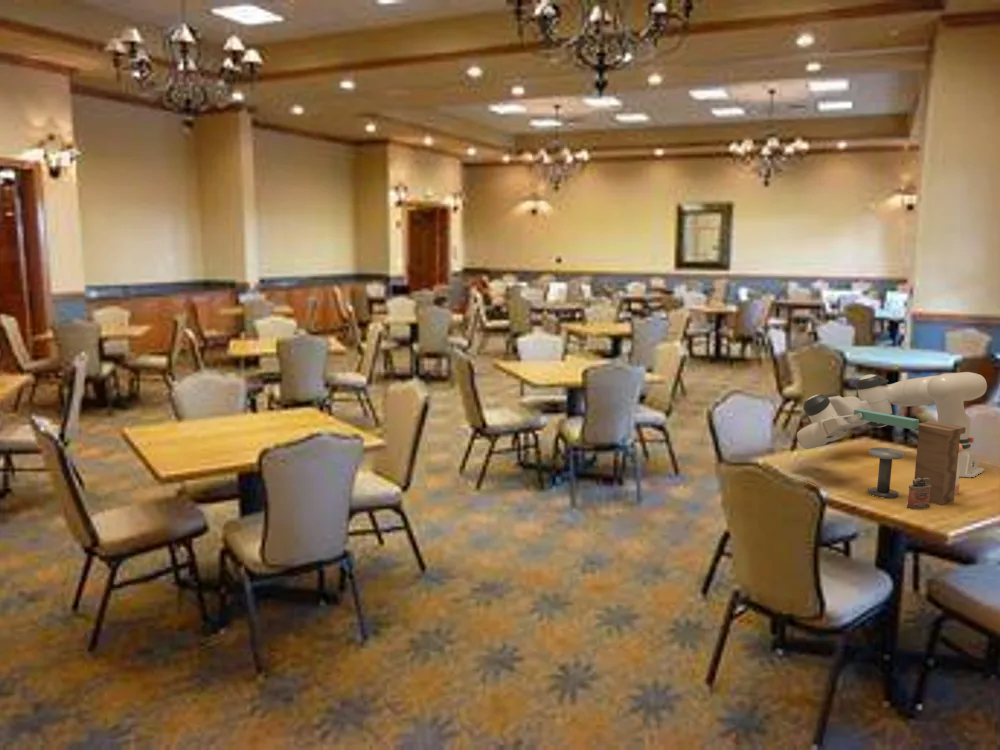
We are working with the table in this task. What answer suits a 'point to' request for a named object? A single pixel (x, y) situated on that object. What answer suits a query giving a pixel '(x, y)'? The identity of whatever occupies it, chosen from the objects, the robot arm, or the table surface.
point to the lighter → (919, 494)
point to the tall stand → (938, 459)
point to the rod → (888, 419)
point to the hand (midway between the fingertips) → (866, 414)
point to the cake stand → (885, 471)
